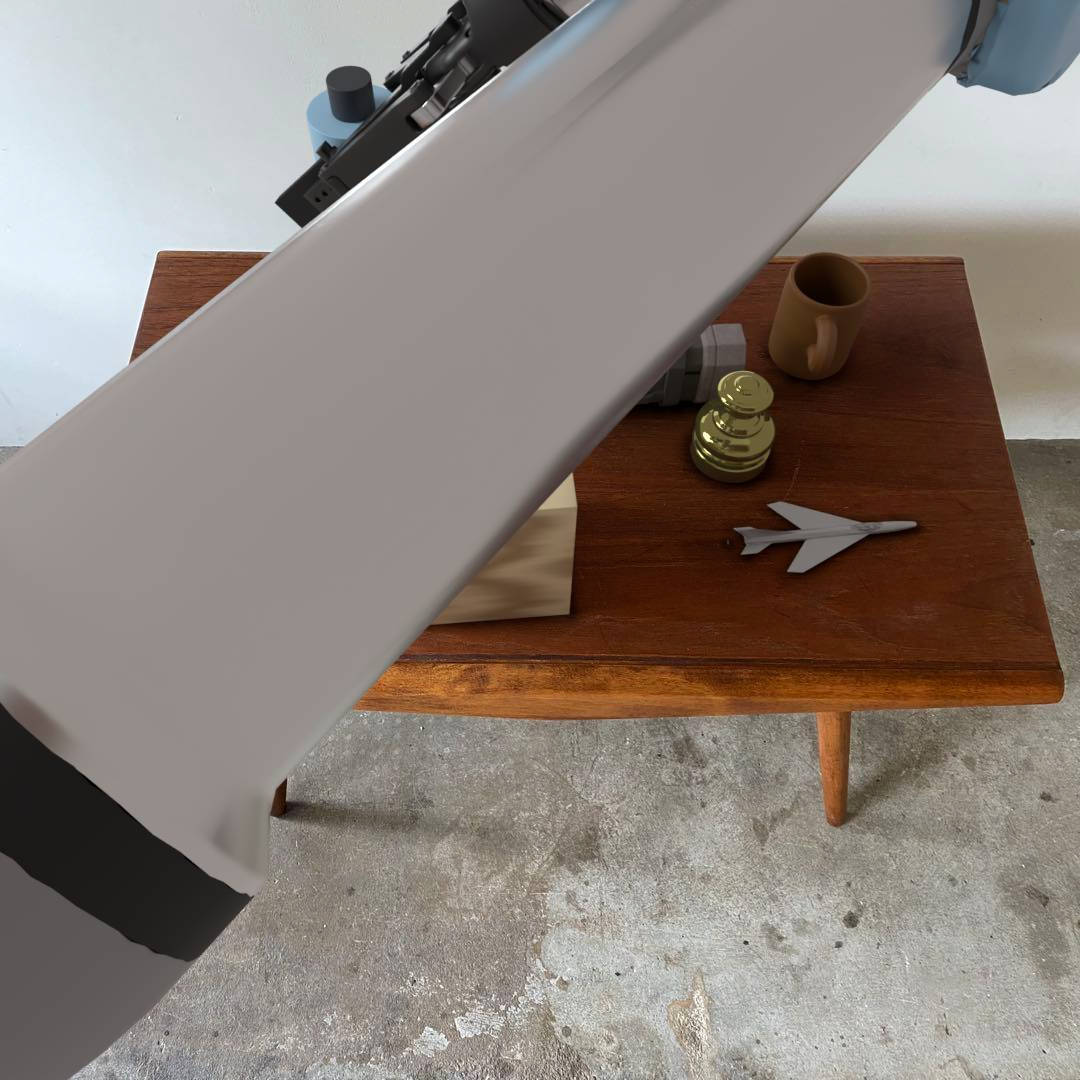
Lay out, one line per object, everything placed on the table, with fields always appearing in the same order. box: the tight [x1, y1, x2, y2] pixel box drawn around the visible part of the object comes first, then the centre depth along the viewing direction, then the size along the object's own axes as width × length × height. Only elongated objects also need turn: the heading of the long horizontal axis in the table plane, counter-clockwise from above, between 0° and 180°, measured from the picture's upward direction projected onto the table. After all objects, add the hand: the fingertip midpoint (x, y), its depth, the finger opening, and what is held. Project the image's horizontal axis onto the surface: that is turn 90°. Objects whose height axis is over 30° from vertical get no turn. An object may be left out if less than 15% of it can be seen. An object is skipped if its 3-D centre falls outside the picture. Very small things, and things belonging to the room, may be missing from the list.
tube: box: [636, 323, 748, 407], centre depth 93 cm, size 11×7×30 cm
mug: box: [768, 251, 874, 381], centre depth 94 cm, size 13×8×10 cm, turn 170°
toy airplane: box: [726, 501, 917, 573], centre depth 86 cm, size 8×21×2 cm, turn 97°
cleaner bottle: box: [305, 65, 392, 163], centre depth 60 cm, size 6×6×11 cm
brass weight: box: [689, 370, 777, 484], centre depth 88 cm, size 7×7×10 cm
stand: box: [429, 471, 578, 626], centre depth 78 cm, size 12×12×16 cm
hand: (316, 184), depth 63 cm, fingers closed on cleaner bottle, 6 cm apart
